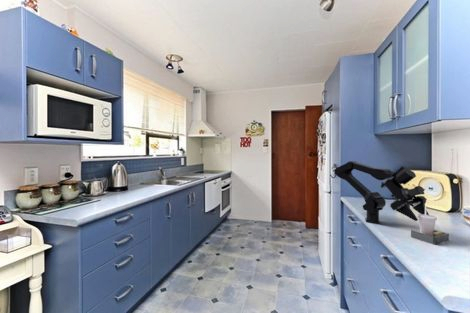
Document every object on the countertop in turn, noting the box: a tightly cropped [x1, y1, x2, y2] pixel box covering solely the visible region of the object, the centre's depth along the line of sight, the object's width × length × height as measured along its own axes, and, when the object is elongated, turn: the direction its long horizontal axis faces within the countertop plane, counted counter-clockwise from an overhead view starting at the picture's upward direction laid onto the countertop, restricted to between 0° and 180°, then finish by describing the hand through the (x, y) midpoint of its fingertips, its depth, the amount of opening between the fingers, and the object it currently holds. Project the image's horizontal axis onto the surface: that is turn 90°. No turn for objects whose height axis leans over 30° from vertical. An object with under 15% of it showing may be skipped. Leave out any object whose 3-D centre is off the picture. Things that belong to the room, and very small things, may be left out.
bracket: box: [410, 229, 450, 246], centre depth 96 cm, size 9×10×4 cm
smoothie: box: [417, 205, 438, 236], centre depth 96 cm, size 6×6×14 cm
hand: (423, 219), depth 98 cm, fingers open, 9 cm apart
